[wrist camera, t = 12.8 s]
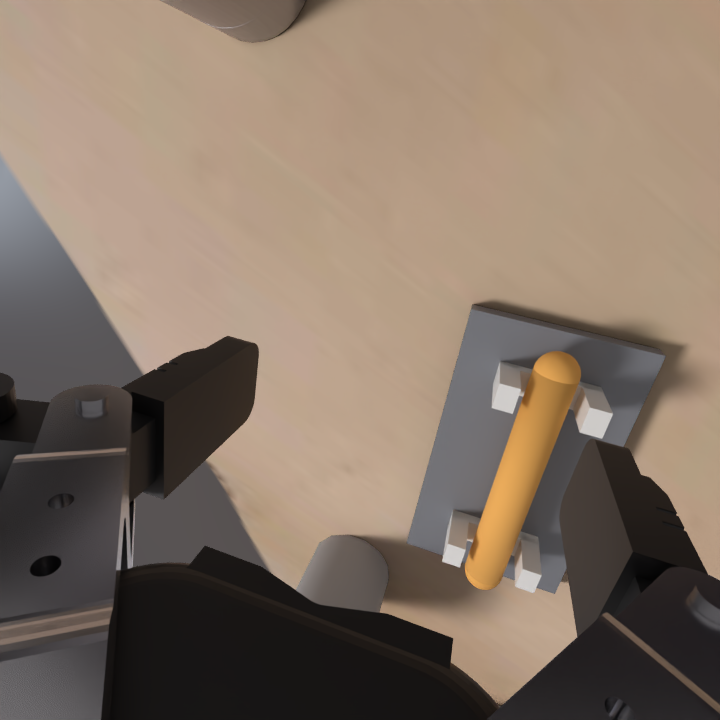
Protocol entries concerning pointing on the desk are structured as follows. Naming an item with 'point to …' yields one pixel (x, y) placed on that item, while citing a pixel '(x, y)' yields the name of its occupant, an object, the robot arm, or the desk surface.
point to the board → (494, 424)
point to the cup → (346, 574)
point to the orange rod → (522, 466)
